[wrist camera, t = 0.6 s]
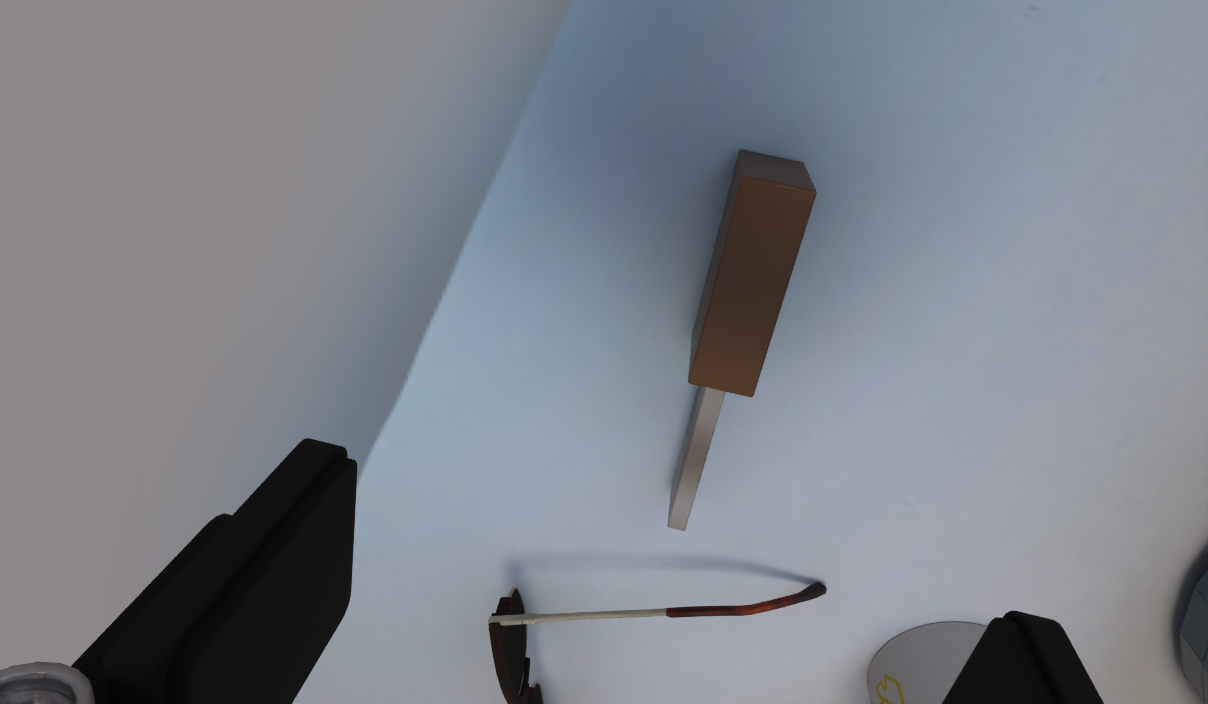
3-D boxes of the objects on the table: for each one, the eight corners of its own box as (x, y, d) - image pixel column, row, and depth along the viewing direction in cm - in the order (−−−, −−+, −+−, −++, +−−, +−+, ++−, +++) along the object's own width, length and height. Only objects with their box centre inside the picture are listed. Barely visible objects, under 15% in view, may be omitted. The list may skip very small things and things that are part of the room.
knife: (739, 148, 28) (742, 175, 24) (804, 162, 28) (817, 191, 24) (653, 482, 36) (645, 544, 32) (705, 494, 36) (703, 557, 32)
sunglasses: (506, 555, 39) (484, 629, 35) (821, 545, 37) (842, 622, 33) (544, 735, 45) (530, 817, 40) (818, 733, 43) (835, 820, 39)
